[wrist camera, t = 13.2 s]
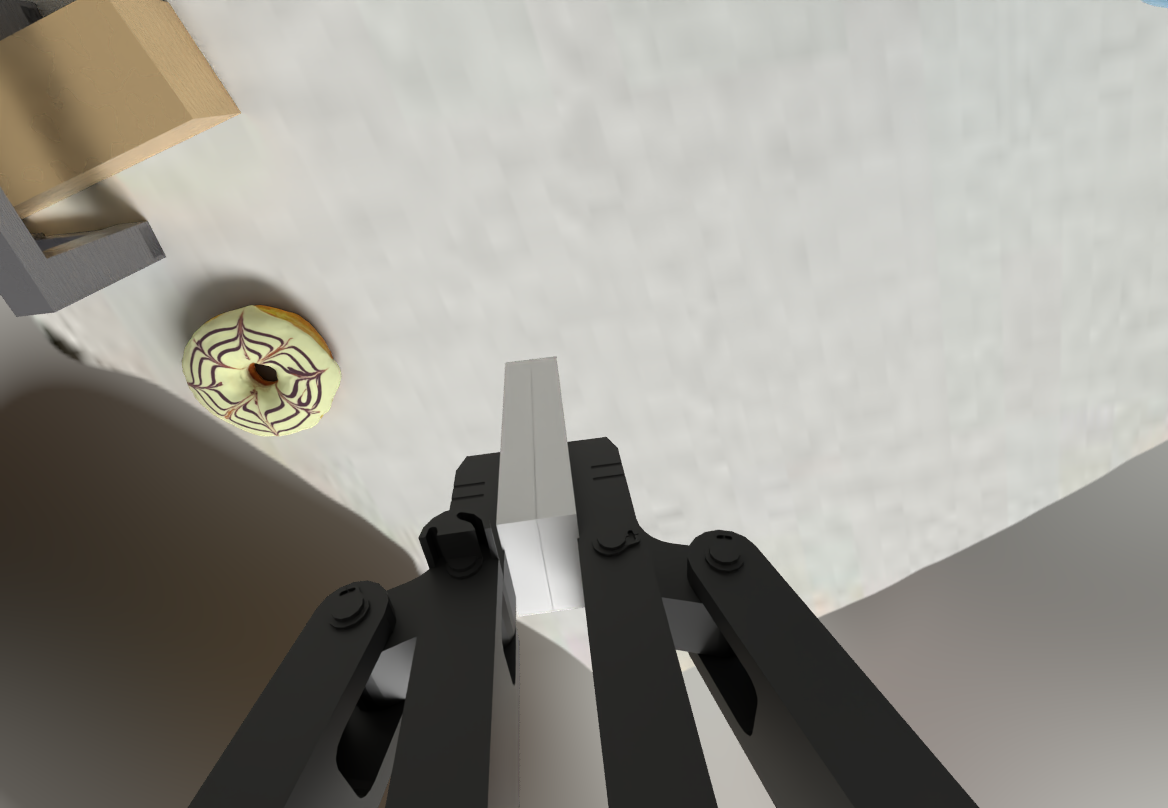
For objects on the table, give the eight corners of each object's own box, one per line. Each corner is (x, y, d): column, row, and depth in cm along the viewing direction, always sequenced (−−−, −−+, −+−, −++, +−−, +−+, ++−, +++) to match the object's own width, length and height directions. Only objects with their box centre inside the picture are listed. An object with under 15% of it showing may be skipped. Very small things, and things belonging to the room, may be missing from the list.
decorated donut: (370, 356, 43) (358, 378, 40) (300, 436, 46) (284, 463, 43) (245, 271, 38) (220, 289, 35) (178, 367, 42) (150, 391, 39)
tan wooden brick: (170, 2, 30) (98, -13, 25) (242, 112, 33) (191, 119, 28) (-100, 143, 32) (-218, 155, 27) (-8, 234, 36) (-99, 260, 30)
